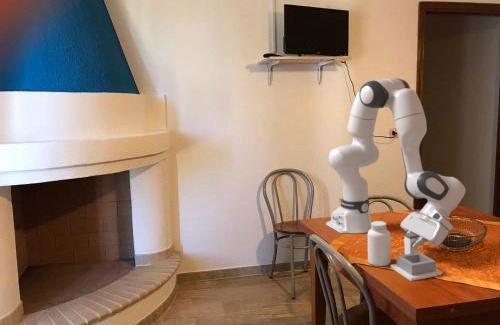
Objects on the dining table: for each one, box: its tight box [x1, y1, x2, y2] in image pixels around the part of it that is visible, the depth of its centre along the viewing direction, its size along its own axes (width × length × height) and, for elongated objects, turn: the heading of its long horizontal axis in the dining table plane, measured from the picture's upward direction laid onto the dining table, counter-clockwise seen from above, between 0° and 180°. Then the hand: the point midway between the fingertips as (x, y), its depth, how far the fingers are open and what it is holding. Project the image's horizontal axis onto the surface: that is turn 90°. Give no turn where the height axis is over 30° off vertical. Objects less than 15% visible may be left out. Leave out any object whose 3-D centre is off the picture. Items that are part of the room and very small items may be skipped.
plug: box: [403, 232, 418, 255], centre depth 161 cm, size 4×3×9 cm
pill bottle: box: [367, 220, 392, 267], centre depth 158 cm, size 8×8×15 cm
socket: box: [390, 251, 444, 282], centre depth 149 cm, size 12×12×4 cm
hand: (409, 245), depth 160 cm, fingers closed on plug, 3 cm apart
